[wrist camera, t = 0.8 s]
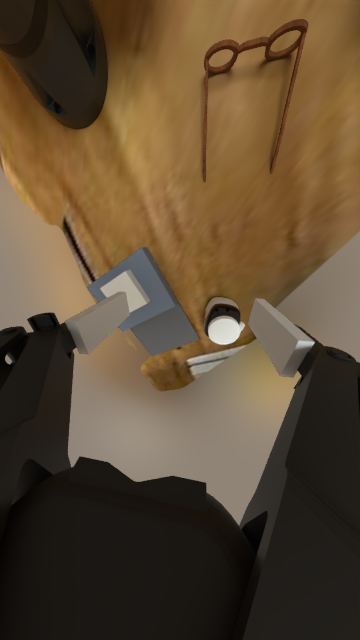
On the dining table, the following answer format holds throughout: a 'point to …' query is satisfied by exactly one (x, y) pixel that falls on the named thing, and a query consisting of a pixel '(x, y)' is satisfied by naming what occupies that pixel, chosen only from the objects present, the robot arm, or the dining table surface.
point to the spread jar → (222, 321)
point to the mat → (165, 331)
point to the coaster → (127, 290)
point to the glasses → (269, 55)
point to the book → (149, 281)
